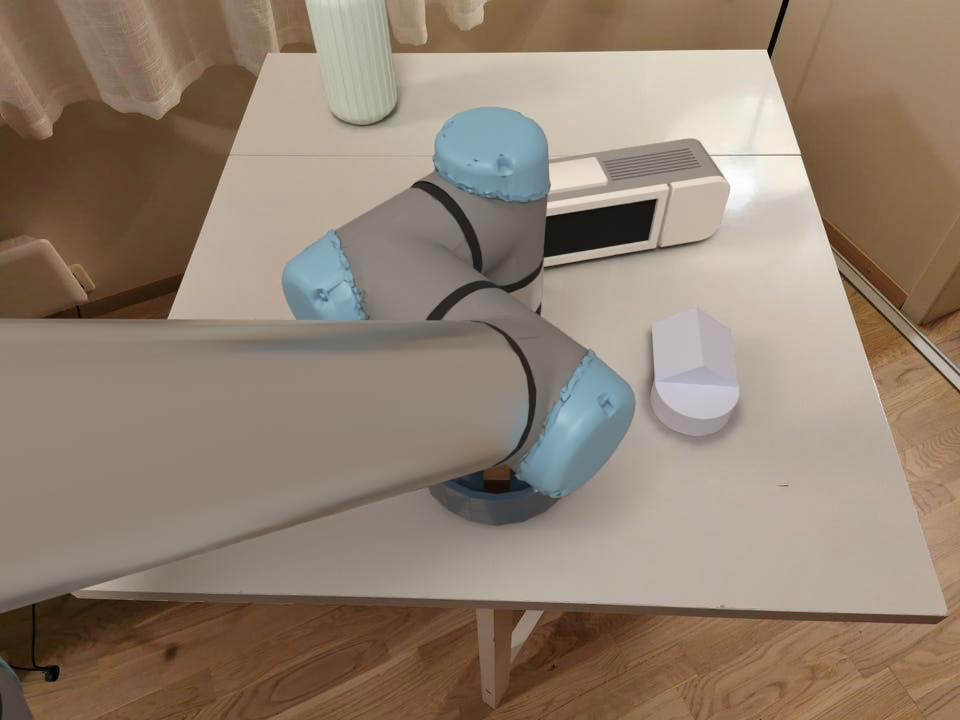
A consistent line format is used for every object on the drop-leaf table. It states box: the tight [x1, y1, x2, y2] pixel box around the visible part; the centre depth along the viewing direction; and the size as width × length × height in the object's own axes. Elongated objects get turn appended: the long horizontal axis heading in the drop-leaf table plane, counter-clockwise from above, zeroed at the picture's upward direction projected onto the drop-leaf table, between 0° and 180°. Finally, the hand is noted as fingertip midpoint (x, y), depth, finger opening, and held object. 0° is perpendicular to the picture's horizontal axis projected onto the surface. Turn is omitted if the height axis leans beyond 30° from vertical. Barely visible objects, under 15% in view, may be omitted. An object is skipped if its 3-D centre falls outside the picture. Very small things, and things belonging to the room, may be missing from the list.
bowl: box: [427, 468, 562, 527], centre depth 74 cm, size 17×17×6 cm
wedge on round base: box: [649, 306, 740, 437], centre depth 78 cm, size 9×7×13 cm
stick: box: [483, 464, 510, 494], centre depth 74 cm, size 11×3×4 cm, turn 179°
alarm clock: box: [544, 137, 731, 268], centre depth 92 cm, size 27×9×12 cm, turn 102°
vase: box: [304, 0, 398, 126], centre depth 109 cm, size 12×12×22 cm
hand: (497, 450), depth 75 cm, fingers closed on stick, 3 cm apart
